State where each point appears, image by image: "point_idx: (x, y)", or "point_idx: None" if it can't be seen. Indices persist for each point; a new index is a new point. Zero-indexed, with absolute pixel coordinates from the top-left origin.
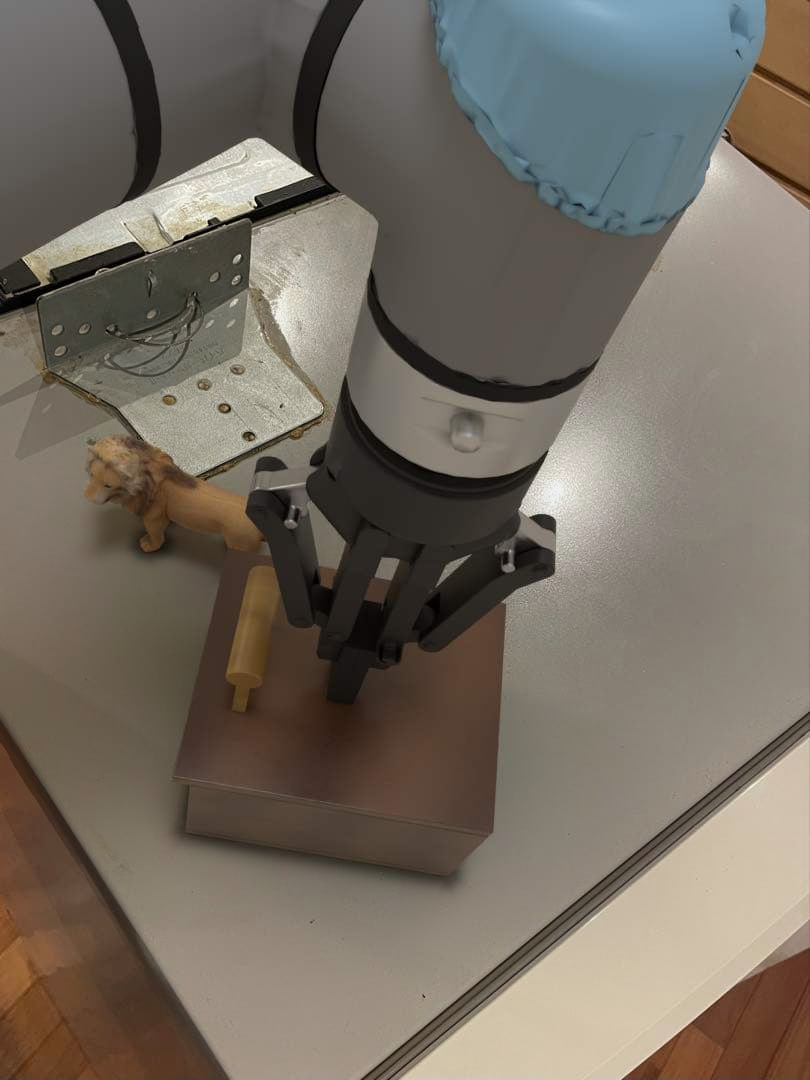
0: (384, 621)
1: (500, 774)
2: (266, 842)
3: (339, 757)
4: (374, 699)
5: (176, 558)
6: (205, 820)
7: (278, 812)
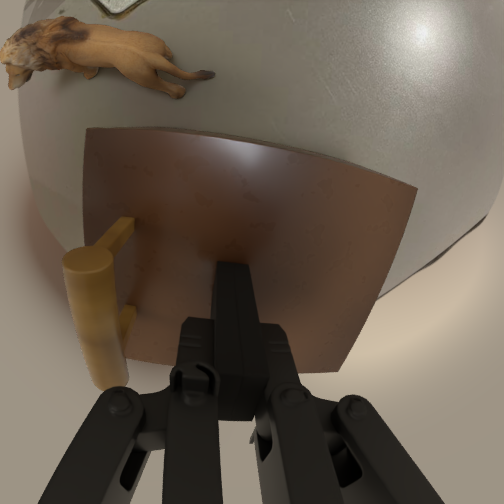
0: (261, 463)
1: None
2: None
3: None
4: (262, 300)
5: (110, 77)
6: None
7: None
